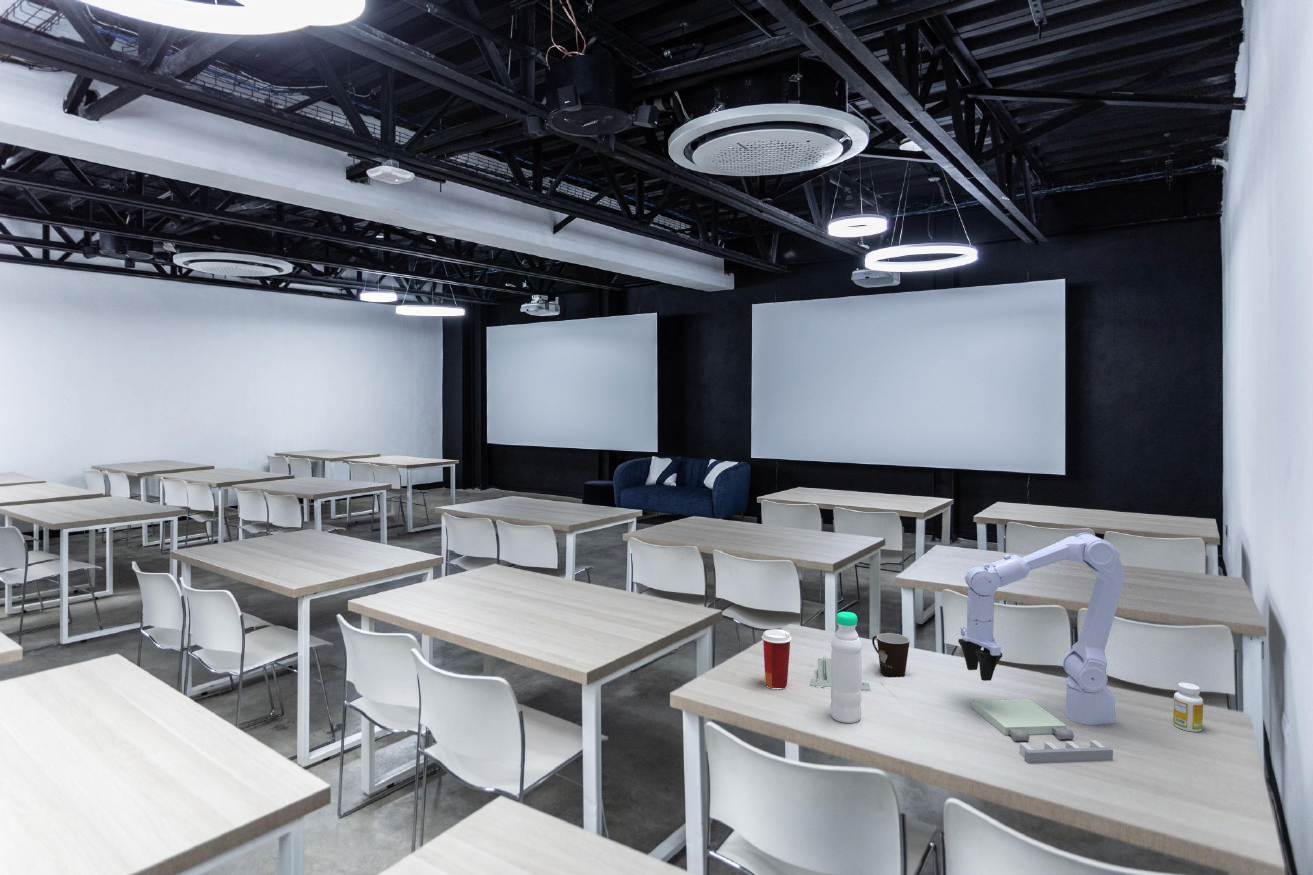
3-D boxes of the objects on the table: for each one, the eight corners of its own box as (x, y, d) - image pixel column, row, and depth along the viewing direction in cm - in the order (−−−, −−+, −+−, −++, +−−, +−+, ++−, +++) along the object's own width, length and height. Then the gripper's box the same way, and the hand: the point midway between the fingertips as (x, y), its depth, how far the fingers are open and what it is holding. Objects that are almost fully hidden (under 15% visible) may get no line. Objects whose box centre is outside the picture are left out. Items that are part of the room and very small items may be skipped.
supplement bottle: (1199, 724, 163) (1201, 683, 163) (1204, 734, 159) (1205, 692, 158) (1171, 719, 166) (1172, 679, 165) (1174, 729, 161) (1176, 687, 161)
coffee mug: (913, 680, 190) (914, 643, 189) (881, 680, 190) (882, 643, 189) (899, 664, 201) (900, 629, 201) (869, 664, 201) (869, 629, 201)
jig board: (1036, 711, 170) (1036, 697, 170) (1112, 767, 144) (1112, 749, 144) (963, 713, 169) (964, 699, 169) (1027, 770, 143) (1028, 752, 143)
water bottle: (863, 714, 169) (864, 611, 168) (858, 726, 162) (859, 619, 161) (833, 708, 172) (834, 607, 171) (827, 720, 165) (828, 615, 164)
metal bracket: (810, 650, 197) (865, 653, 194) (810, 667, 199) (865, 671, 196) (811, 683, 184) (870, 687, 181) (810, 701, 186) (869, 706, 183)
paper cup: (795, 683, 187) (795, 631, 187) (784, 693, 181) (784, 639, 180) (768, 677, 192) (768, 626, 191) (756, 686, 185) (756, 634, 184)
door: (1028, 706, 170) (1028, 698, 170) (1075, 740, 153) (1076, 732, 152) (972, 707, 169) (972, 700, 169) (1013, 742, 152) (1013, 734, 152)
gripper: (949, 609, 174) (948, 663, 175) (979, 628, 160) (978, 687, 160) (976, 609, 175) (975, 663, 175) (1010, 627, 160) (1008, 686, 161)
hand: (979, 674), depth 168 cm, fingers open, 6 cm apart
